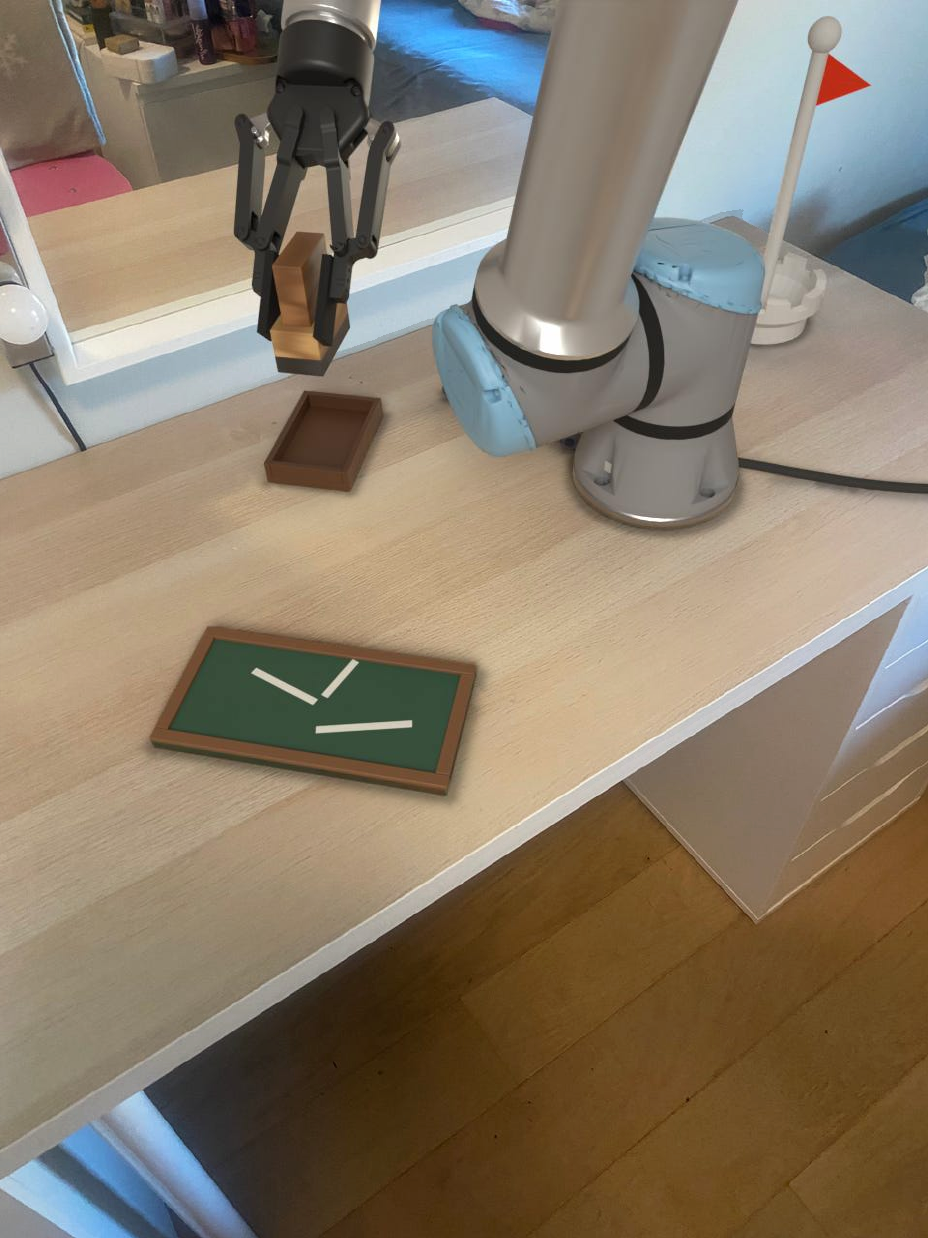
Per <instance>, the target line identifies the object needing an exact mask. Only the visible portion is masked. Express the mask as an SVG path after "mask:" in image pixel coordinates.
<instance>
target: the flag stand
mask: <svg viewBox="0 0 928 1238" xmlns="http://www.w3.org/2000/svg"><path fill="white" fill-rule="evenodd" d="M842 31H843V30H842V24H841V22H840V21H839V20H838V19H837V18H836V17H834V16H831V15H825V16H822V17H819V18H818V19H816V21H814V22H813V23H812V25H811V26H810V28H809V30H808V33H807V44H808V47H809V48H810V50H811V55H810V58H809V62H808V63H809V64H808V67H807V72H806V76H805V80H804V84H803V87H802V93H801V96H800V97H801V98H800V102H799V107H798V109H797V114H796V118H795V122H794V127H793V132H792V135H791V139H790V144H789V148H788V153H787V157H786V160H785V165H784V169H783V173H782V177H781V182H780V186H779V190H778V196H777V199H776V202H775V203H776V204H775V208H774V212H773V216H772V220H771V225H770V229H769V234H768V237H767V241H766V246H765V247H755V248H756V249H757V250H758V252H759V253H760V255H761V257H762V259H763V261H764V265H765V278H764V283H763V289H762V294H761V300H760V301H761V304H762V307H761V310H760V312H759V313H758V317H757V321H756V325H755V329H754V332H753V336H752V340H751V344H753V345H767V346H768V345H777V344H783V343H786V342H790V341H792V340H794V339H796V338H797V337H799V336H800V335H801V334H802V333H803V332H804V329H805V327H806V324H807V322H808V318H810V317H812V316H814V315H815V314H816V313H817V312H818V311H819V310H820V308H821V307H822V303H823V299H824V296H825V289H826V286H827V282H828V278H827V275H826V273H825V271H824V270H823V269H822V268H817V269H812V270H811V271H809V270H808V269H807V268H806V267H807V264H808V258H805V257H803V256H801V255H800V254H796V253H792V252H790V251H788V252H787V253H786V254H785V255H784V257H783V260H780V259H779V256H780V252H781V248H782V244H783V240H784V236H785V232H786V229H787V228H786V227H787V223H788V220H789V215H790V211H791V208H792V204H793V199H794V195H795V192H796V187H797V182H798V179H799V175H800V171H801V167H802V163H803V159H804V155H805V151H806V147H807V144H808V143H807V142H808V138H809V136H810V135H809V134H810V130H811V126H812V123H813V118H814V115H815V110H816V107H817V106H820V105H823V104H825V103H829V102H831V101H833V100H836V99H840V98H842V97H844V96H847V95H850V94H853V93H855V92H857V91H858V92H859V91H860V90H861V91H862V90H863V89H866V88H868V87H871V86H872V84H870V83H869V82H868V81H866V80H865V79H864V78H862V77H861V76H860V75H858V74H857V73H856V72H854V71H853V70H851V69H850V68H849V67H848V66H847V65H845V64H844V63H842V62H841V61H839V60H838V59H837V58H835V57H834V56H833V55H831V53H830V52H832V51H833V50H834V49H835V48H836V47H837V46H838V44H839V42H840V40H841V38H842Z"/></svg>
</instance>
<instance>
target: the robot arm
mask: <svg viewBox="0 0 928 1238" xmlns="http://www.w3.org/2000/svg"><path fill="white" fill-rule="evenodd" d="M738 3H739V0H557V5H556V9H555V14H554V19H553V23H552V28H551V32H550V37H549V40H548V41H549V42H548V46H547V49H546V50H547V51H546V55H545V59H544V64H543V69H542V74H541V78H540V82H539V87H538V92H537V96H536V101H535V106H534V110H533V115H532V120H531V124H530V128H529V133H528V136H527V137H528V138H527V142H526V147H525V151H524V157H523V160H522V165H521V170H520V174H519V179H518V183H517V189H516V193H515V197H514V202H513V206H512V211H511V216H510V221H509V225H508V229H507V233H506V238H504V239H502V240H501V241H499V242H497V243H496V244H495V245H494V246H492V247H491V248H490V249H489V250H487V252H486V253H485V254H484V256H483V257H482V259H481V260H480V262H479V264H478V268H477V269H476V274H475V278H474V284H473V287H472V293H471V298H470V300H469V302H467V303H464V304H460V305H458V304H457V303H455V304H451V305H450V306H449V308H447V309H444V310H442V311H441V312H439V313H438V314H437V315H436V317H435V319H434V320H433V325H432V331H431V337H432V349H433V355H434V360H435V361H434V362H435V364H436V368H437V372H438V376H439V379H440V381H441V385H442V386H443V388H444V391H445V393H446V396H447V397H446V396H445V397H446V398H447V401H448V402H449V405H450V407H451V409H452V411H453V413H454V415H455V418H456V419H457V421H458V423H459V424H460V426H461V428H462V429H463V431H464V433H465V434H466V435H467V437H468V438H469V439H470V441H471V442H472V443H473V444H474V445H475V446H476V447H477V448H478V449H479V450H480V451H482V452H483V453H485V454H488V455H489V456H491V457H494V458H508V457H510V456H514V455H517V454H520V453H524V452H526V451H527V452H530V453H531V452H534V451H536V450H537V449H539V448H542V447H544V446H547V445H549V444H552V443H554V442H557V441H558V440H560V439H563V438H566V437H568V436H571V435H574V434H577V433H579V432H580V433H581V436H580V437H579V442H578V444H577V447H576V448H575V452H574V455H573V462H572V463H573V464H572V479H573V483H574V486H575V488H576V490H577V492H578V494H579V495H580V496H581V498H582V499H583V500H584V502H586V503H587V504H588V505H589V506H590V507H591V508H593V509H594V510H595V511H596V512H598V513H600V514H601V515H603V516H605V517H606V518H609V519H611V520H613V521H616V522H617V523H621V524H623V525H627V526H631V527H635V528H639V529H646V530H653V531H655V530H656V531H668V530H673V531H674V530H680V529H681V530H682V529H687V528H692V527H695V526H698V525H701V524H704V523H707V522H708V521H711V520H712V519H714V518H716V517H717V516H719V514H721V513H723V512H724V511H725V510H726V508H727V507H729V505H730V504H731V502H732V501H733V498H734V495H735V492H736V489H737V485H738V481H739V471H740V468H741V469H746V470H751V471H757V472H764V473H769V474H775V475H779V476H784V477H788V478H789V477H790V478H795V479H802V480H808V481H813V482H820V483H825V484H830V485H837V486H844V487H848V488H849V487H851V488H856V489H857V488H858V489H865V490H872V491H873V490H874V491H883V492H892V493H893V492H895V493H905V494H925V495H928V483H919V482H918V483H917V482H904V481H903V482H902V481H892V480H891V481H889V480H881V479H870V478H863V477H854V476H847V475H841V474H835V473H831V472H829V473H828V472H823V471H819V470H818V471H817V470H812V469H806V468H800V467H793V466H788V465H785V464H784V465H783V464H780V463H779V464H778V463H773V462H768V461H762V460H756V459H750V458H745V457H740V456H739V455H738V447H737V441H736V435H735V434H736V433H735V427H734V420H733V419H734V418H733V415H734V411H735V407H736V402H737V398H738V394H739V392H740V391H739V390H740V387H741V384H742V378H743V375H744V371H745V368H746V364H747V360H748V356H749V352H750V348H751V344H752V343H751V340H752V336H753V332H754V329H755V325H756V321H757V317H758V313H759V312H760V310H761V307H762V304H761V301H760V300H761V294H762V289H763V283H764V278H765V265H764V261H763V259H762V257H761V255H760V253H759V252H758V250H757V249H756V248H757V247H755V246H754V245H753V244H752V243H751V242H750V241H749V240H747V239H746V238H744V237H743V236H741V235H739V234H737V233H736V232H733V231H731V230H729V229H726V228H724V227H721V226H718V225H715V224H713V223H709V222H705V221H701V220H697V219H696V220H695V219H691V218H685V217H674V216H658V217H657V216H655V215H656V213H657V210H658V207H659V205H660V202H661V199H662V197H663V195H664V192H665V189H666V187H667V184H668V182H669V179H670V177H671V174H672V171H673V169H674V167H675V164H676V162H677V159H678V156H679V153H680V151H681V150H682V149H681V148H682V146H683V144H684V141H685V138H686V136H687V133H688V131H689V128H690V125H691V123H692V120H693V118H694V116H695V113H696V110H697V108H698V106H699V103H700V101H701V98H702V95H703V92H704V90H705V87H706V85H707V82H708V80H709V77H710V75H711V72H712V69H713V68H714V64H715V61H716V59H717V56H718V54H719V52H720V49H721V46H722V43H723V41H724V40H725V39H724V38H725V37H726V34H727V31H728V29H729V26H730V23H731V21H732V18H733V15H734V13H735V12H736V11H735V10H736V8H737V5H738ZM381 4H382V0H283V3H282V11H281V19H280V26H281V29H282V31H281V32H280V34H279V41H278V49H277V58H276V68H275V78H274V79H275V81H274V84H275V86H274V88H275V89H274V94H273V97H272V99H271V100H270V101H269V103H268V105H267V108H266V112H263V113H261V114H258V115H254V116H252V117H250V118H249V117H248V116H247V115H246V114H245V113H239V114H237V115H236V117H235V118H234V122H233V123H234V127H235V130H236V135H237V139H238V142H239V151H238V164H237V179H236V193H235V204H234V205H235V206H234V220H233V235H234V237H235V238H236V239H237V240H238V241H239V242H240V243H241V244H242V245H243V246H244V247H245V248H246V249H248V250H249V251H253V252H254V259H253V268H252V278H251V288H252V291H253V293H255V294H256V295H257V296H258V297H260V298H259V299H260V300H259V309H258V317H257V326H256V333H257V334H259V335H260V336H261V337H262V338H265V339H266V340H267V341H268V342H272V339H271V334H270V329H271V328H272V326H273V325H274V323H275V322H276V320H277V319H278V317H279V316H280V314H281V311H280V306H279V301H278V295H277V290H276V285H275V280H274V274H273V269H272V265H273V263H274V262H275V261H276V259H277V258H278V257H279V255H280V253H281V252H280V251H281V248H282V245H283V242H284V238H285V235H286V232H287V229H288V226H289V222H290V219H291V216H292V212H293V209H294V206H295V202H296V199H297V196H298V192H299V190H300V187H301V183H302V181H304V180H305V178H306V176H307V173H308V170H309V168H313V167H317V166H320V167H323V168H325V174H326V187H327V201H328V210H329V211H328V212H329V223H330V226H329V227H330V237H331V238H330V239H331V243H330V244H329V248H330V249H331V251H332V252H333V255H332V254H329V253H327V254H322V259H321V268H320V277H319V286H318V295H317V304H316V313H315V322H314V330H313V338H315V339H316V340H317V341H318V342H319V343H321V344H322V345H323V346H330V347H332V344H333V335H334V326H335V317H336V309H337V303H343V304H346V302H347V303H348V300H349V299H350V292H351V291H350V290H351V284H352V275H353V268H354V265H355V264H356V262H358V261H361V260H363V259H368V260H372V259H375V257H376V256H377V255H378V251H379V245H380V238H381V232H382V226H383V219H384V213H385V206H386V200H387V193H388V187H389V180H390V174H391V167H392V165H393V163H394V161H395V159H396V157H397V155H398V153H399V151H400V149H401V147H402V140H401V137H400V136H399V134H398V131H397V129H396V126H395V125H394V122H392V121H389V120H386V121H383V122H380V121H378V120H376V119H375V118H373V116H372V113H371V109H370V100H371V91H372V85H373V84H372V83H373V76H374V75H373V74H374V68H375V67H374V66H375V55H374V51H375V49H376V45H377V38H378V28H379V21H380V13H381V11H380V10H381V6H382V5H381ZM273 131H274V133H275V135H276V137H277V139H278V140H279V146H278V149H277V152H276V158H275V159H276V166H275V170H274V173H273V176H272V179H271V182H270V186H269V189H268V192H267V195H266V196H267V197H266V199H265V202H264V206H263V198H264V185H265V184H264V183H265V173H266V172H265V170H266V153H265V149H266V148H268V147H269V142H270V141H269V139H270V134H271V132H273ZM366 137H367V140H366V141H367V143H366V144H367V146H368V148H369V149H368V153H367V157H366V164H365V165H366V166H365V170H364V178H363V185H362V190H361V191H362V192H361V198H360V205H359V211H358V218H357V225H356V229H355V235H354V222H353V208H352V196H351V195H352V193H351V184H350V181H351V179H352V177H351V176H352V175H351V166H350V165H351V164H350V163H351V161H350V157H351V156H352V154H353V153H355V151H356V150H357V148H358V147H359V146H360V145H361V144H362V142H363V141H364V140H365V139H366ZM558 442H559V441H558Z"/></svg>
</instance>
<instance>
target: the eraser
mask: <svg viewBox="0 0 928 1238" xmlns="http://www.w3.org/2000/svg"><path fill="white" fill-rule="evenodd" d="M322 254H328V248H327V243H326V235H325V233H324V232H311V231H309V232H308V231H295V233H294V234H293V236H292V237H291V239H290V240H289V241H288V243H287V244H286V245H285V247H284V248H283V250H282V251H281V252H280V253H279V257H278V258H277V259H276V261H275V262H274V263H273V265H272V269H273V274H274V280H275V285H276V290H277V295H278V301H279V306H280V311H281V314H280V316H279V317H278V319H277V320H276V322H275V323H274V325H273V326H272V328H271V329H270V334H271V339H272V341H271V344H272V348H273V353H274V360H275V365H276V369H277V373H281V374H290V375H303V376H311V377H322V378H323V377H324V376H325V375H326V372H327V370H328V369H329V367H330V365H331V363H332V362H333V359H334V358H335V356H336V355H337V352H338V350H339V349H340V347H341V345H342V344H343V342H344V340H345V338H346V336H347V335H348V332H349V331H350V329H351V323H350V322H351V321H350V314H349V307H348V301H347V302H346V304H343V303H337V309H336V317H335V326H334V335H333V344H332V347H330V346H323V345H322V344H321V343H319V342H318V341H317V340H316V339H315V338H313V330H314V322H315V313H316V304H317V295H318V286H319V277H320V268H321V259H322Z"/></svg>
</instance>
